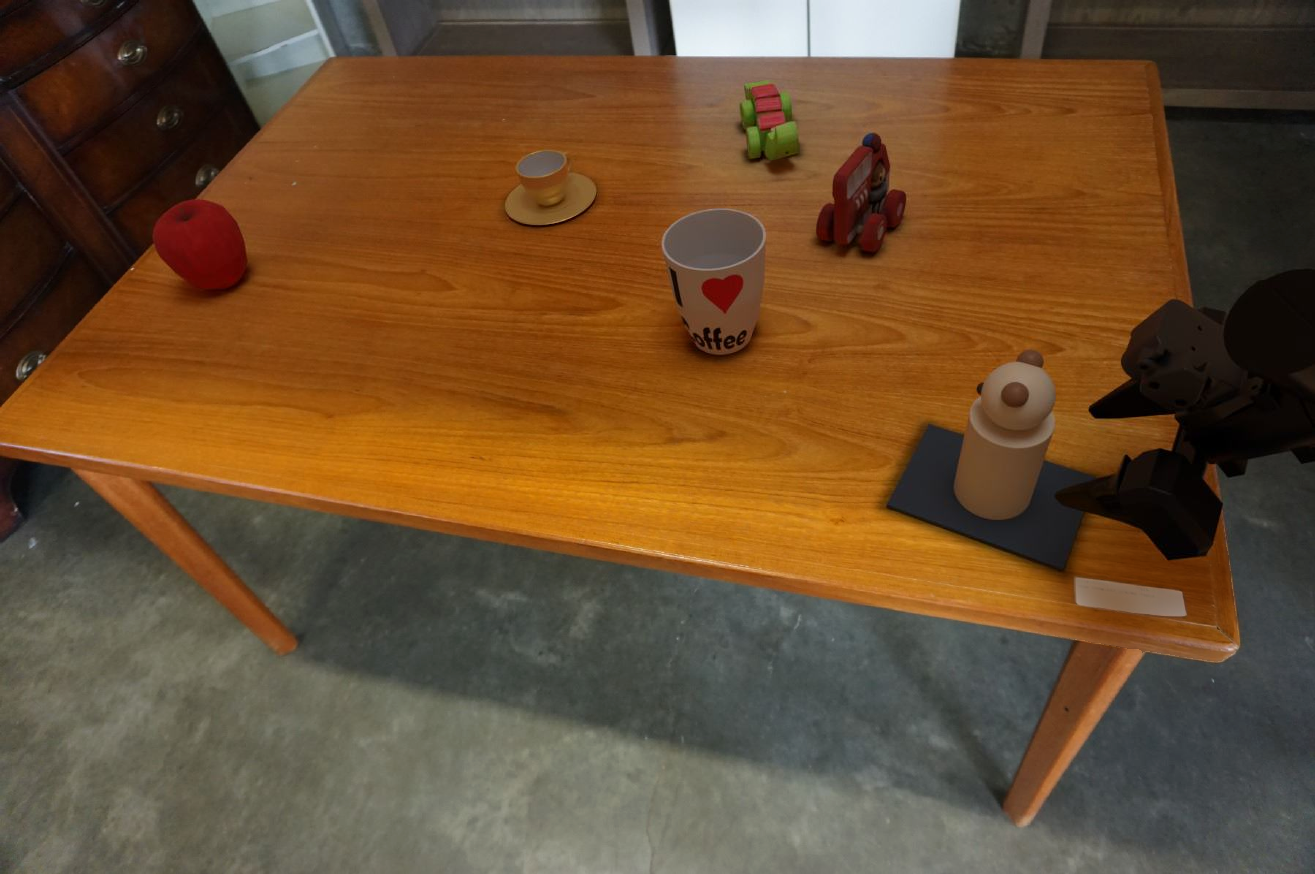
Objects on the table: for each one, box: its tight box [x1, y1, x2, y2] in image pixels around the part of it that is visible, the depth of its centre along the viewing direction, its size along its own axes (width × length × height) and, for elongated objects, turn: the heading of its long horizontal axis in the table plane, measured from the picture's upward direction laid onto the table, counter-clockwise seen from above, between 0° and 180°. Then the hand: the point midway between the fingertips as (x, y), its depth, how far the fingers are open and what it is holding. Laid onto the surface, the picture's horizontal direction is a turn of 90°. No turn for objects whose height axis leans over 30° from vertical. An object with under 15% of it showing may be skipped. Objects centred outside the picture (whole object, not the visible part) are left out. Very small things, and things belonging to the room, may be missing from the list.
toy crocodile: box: [739, 79, 800, 161], centre depth 109 cm, size 20×7×6 cm, turn 2°
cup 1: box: [504, 149, 597, 226], centre depth 106 cm, size 12×12×5 cm
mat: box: [886, 423, 1097, 573], centre depth 69 cm, size 14×10×1 cm
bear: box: [954, 349, 1057, 520], centre depth 64 cm, size 6×6×14 cm
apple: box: [151, 198, 248, 290], centre depth 102 cm, size 10×10×11 cm
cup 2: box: [661, 208, 767, 356], centre depth 82 cm, size 10×10×12 cm
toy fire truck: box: [815, 132, 907, 253], centre depth 91 cm, size 7×12×10 cm, turn 146°
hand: (1075, 454), depth 62 cm, fingers open, 9 cm apart
